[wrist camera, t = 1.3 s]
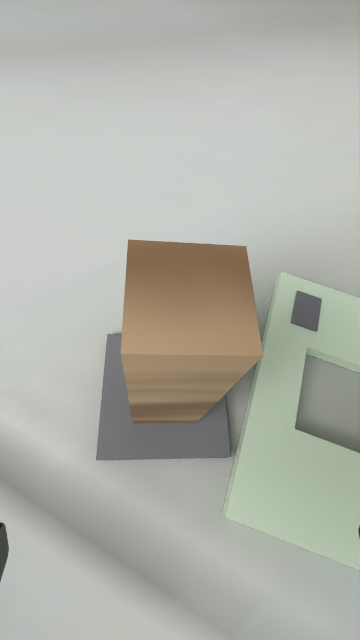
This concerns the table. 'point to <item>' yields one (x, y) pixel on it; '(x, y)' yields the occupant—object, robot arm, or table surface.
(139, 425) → the pad
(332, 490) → the flange plate
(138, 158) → the table surface
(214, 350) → the post
